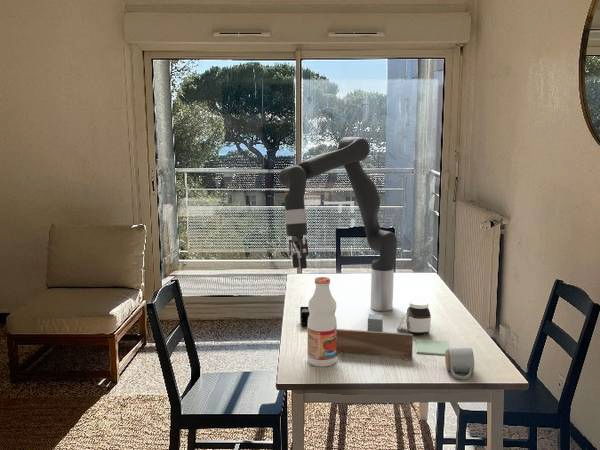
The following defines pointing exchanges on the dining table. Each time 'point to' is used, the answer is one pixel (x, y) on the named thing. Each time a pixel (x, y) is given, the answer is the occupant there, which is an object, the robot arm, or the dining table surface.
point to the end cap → (304, 316)
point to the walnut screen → (374, 343)
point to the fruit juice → (322, 325)
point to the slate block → (375, 323)
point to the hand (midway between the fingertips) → (299, 268)
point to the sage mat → (432, 347)
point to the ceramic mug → (460, 361)
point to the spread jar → (417, 318)
